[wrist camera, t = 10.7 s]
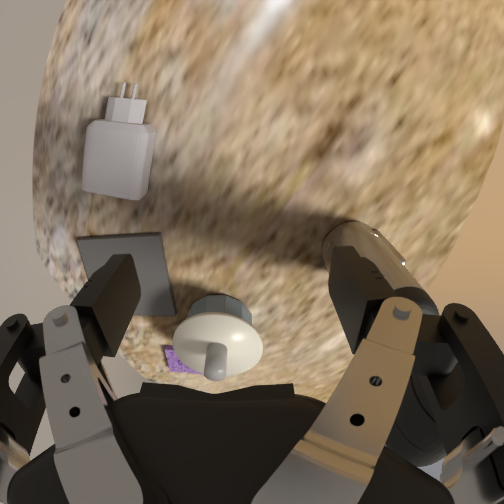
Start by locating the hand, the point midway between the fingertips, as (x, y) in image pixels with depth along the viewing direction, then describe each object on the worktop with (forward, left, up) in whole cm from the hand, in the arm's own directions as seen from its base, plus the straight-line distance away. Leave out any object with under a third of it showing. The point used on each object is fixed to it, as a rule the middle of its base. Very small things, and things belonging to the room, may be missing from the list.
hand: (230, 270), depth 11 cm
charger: (+16, -4, -29) cm, 33 cm away
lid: (+5, +27, -22) cm, 35 cm away
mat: (+20, +18, -28) cm, 39 cm away
